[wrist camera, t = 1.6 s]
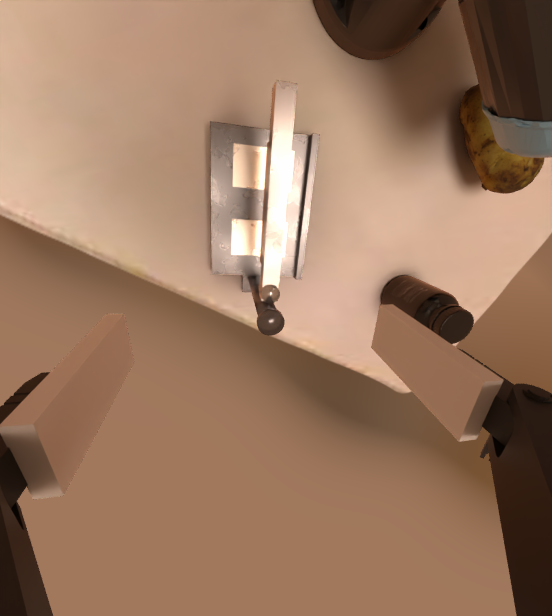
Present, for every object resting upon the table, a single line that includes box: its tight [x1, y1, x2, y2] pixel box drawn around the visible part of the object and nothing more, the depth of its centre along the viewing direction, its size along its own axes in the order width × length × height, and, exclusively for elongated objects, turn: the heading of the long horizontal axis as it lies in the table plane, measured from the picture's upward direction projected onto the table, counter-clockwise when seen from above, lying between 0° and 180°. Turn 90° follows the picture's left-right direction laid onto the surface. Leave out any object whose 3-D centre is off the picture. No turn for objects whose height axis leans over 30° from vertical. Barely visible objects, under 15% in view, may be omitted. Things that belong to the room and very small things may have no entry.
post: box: [242, 275, 284, 335], centre depth 32 cm, size 4×4×15 cm
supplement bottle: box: [382, 276, 474, 344], centre depth 39 cm, size 7×7×12 cm
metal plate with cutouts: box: [210, 122, 320, 280], centre depth 34 cm, size 17×12×3 cm
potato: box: [459, 84, 544, 193], centre depth 33 cm, size 8×13×8 cm, turn 12°
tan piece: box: [258, 80, 297, 303], centre depth 26 cm, size 18×2×7 cm, turn 175°
